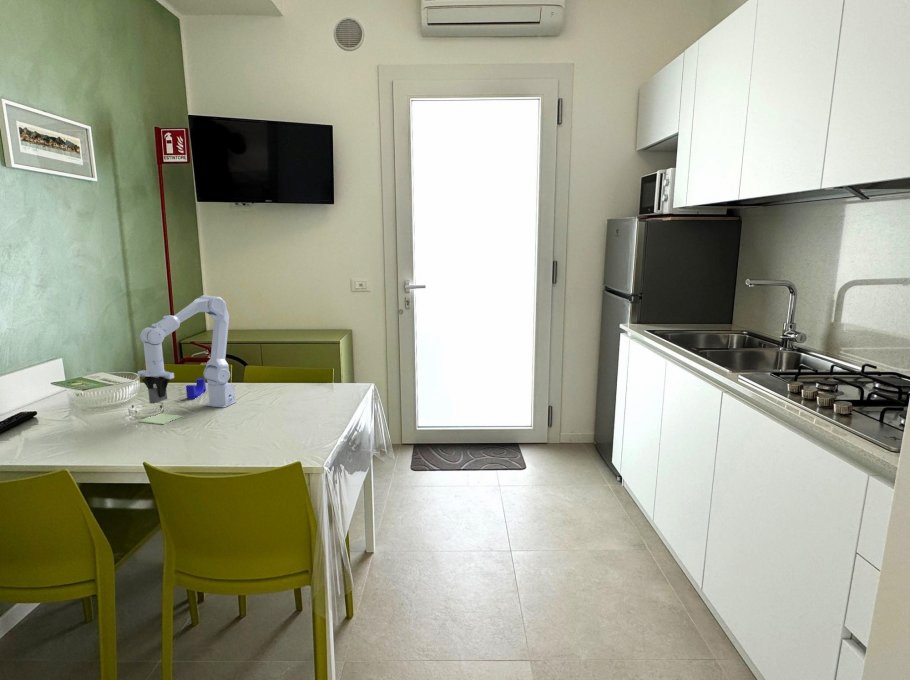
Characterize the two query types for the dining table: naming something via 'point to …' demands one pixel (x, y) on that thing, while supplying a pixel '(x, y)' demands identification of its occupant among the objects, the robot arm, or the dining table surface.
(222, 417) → the dining table surface
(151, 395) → the dark grey block
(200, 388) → the blue u-shaped block
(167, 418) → the sage mat
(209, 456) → the dining table surface
